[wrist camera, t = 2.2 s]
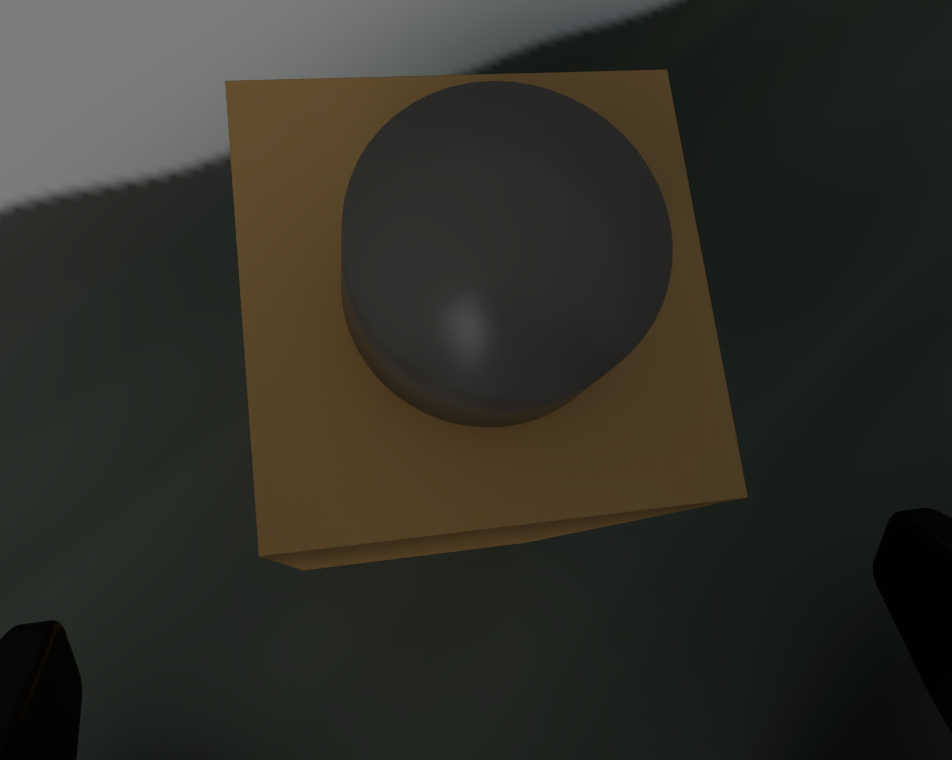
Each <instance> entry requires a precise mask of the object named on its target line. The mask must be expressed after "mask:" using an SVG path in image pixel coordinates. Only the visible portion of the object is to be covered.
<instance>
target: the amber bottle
mask: <svg viewBox="0 0 952 760" xmlns="http://www.w3.org/2000/svg"><path fill="white" fill-rule="evenodd" d="M225 84H226V98H227V113H228V127H229V140H230V155H231V169H232V183H233V197H234V211H235V225H236V239H237V253H238V267H239V281H240V295H241V309H242V323H243V337H244V351H245V365H246V379H247V393H248V407H249V421H250V435H251V449H252V463H253V477H254V491H255V505H256V519H257V533H258V547H259V556H260V557H263V558H266V559H269V560H272V561H275V562H279V563H282V564H285V565H288V566H291V567H294V568H297V569H300V570H311V569H319V568H327V567H335V566H343V565H351V564H359V563H367V562H375V561H383V560H391V559H399V558H407V557H415V556H423V555H431V554H439V553H447V552H455V551H463V550H471V549H479V548H487V547H495V546H503V545H511V544H519V543H527V542H532V541H537V540H542V539H547V538H552V537H557V536H561V535H566V534H571V533H576V532H581V531H586V530H591V529H596V528H601V527H605V526H610V525H615V524H620V523H625V522H630V521H635V520H640V519H645V518H649V517H654V516H659V515H664V514H669V513H674V512H679V511H684V510H689V509H693V508H698V507H703V506H708V505H713V504H718V503H723V502H728V501H733V500H737V499H742V498H747V497H748V496H747V491H746V485H745V480H744V475H743V470H742V464H741V459H740V454H739V448H738V443H737V438H736V432H735V427H734V422H733V417H732V411H731V406H730V401H729V395H728V390H727V385H726V379H725V374H724V369H723V364H722V358H721V353H720V348H719V342H718V337H717V332H716V326H715V321H714V316H713V311H712V305H711V300H710V295H709V289H708V284H707V279H706V273H705V268H704V263H703V258H702V252H701V247H700V242H699V236H698V231H697V226H696V220H695V215H694V210H693V205H692V199H691V194H690V189H689V183H688V178H687V173H686V167H685V162H684V157H683V152H682V146H681V141H680V136H679V130H678V125H677V120H676V114H675V109H674V104H673V99H672V93H671V88H670V83H669V77H668V72H667V70H635V71H596V72H556V73H517V74H477V75H438V76H403V77H402V76H399V77H363V78H362V77H361V78H325V79H324V78H322V79H321V78H320V79H283V80H242V81H225Z"/></svg>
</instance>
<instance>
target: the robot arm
mask: <svg viewBox="0 0 952 760" xmlns="http://www.w3.org/2000/svg"><path fill="white" fill-rule="evenodd" d="M873 575H874V579H875V582H876V585H877V587H878V589H879V591H880V593H881V595H882V598H883V600H884V602H885V604H886V606H887V608H888V610H889V612H890V614H891V616H892V618H893V620H894V622H895V624H896V627H897V629H898V631H899V633H900V635H901V637H902V639H903V641H904V643H905V645H906V647H907V649H908V651H909V653H910V655H911V658H912V660H913V662H914V664H915V666H916V668H917V670H918V672H919V674H920V676H921V678H922V680H923V682H924V684H925V686H926V688H927V690H928V692H929V694H930V696H931V698H932V700H933V702H934V703H935V705H936V707H937V709H938V710H939V712H940V714H941V716H942V717H943V719H944V721H945V722H946V724H947V726H948V727H949V729H950V731H951V732H952V518H950V517H948V516H946V515H944V514H942V513H940V512H938V511H936V510H934V509H930V508H920V509H912V510H904V511H899V512H896V513H895V514H893V515H892V516H891V517H890V519H889V521H888V524H887V526H886V529H885V532H884V534H883V537H882V540H881V542H880V545H879V548H878V550H877V553H876V556H875V558H874V562H873ZM81 703H82V683H81V676H80V673H79V670H78V667H77V664H76V661H75V658H74V655H73V652H72V649H71V646H70V643H69V641H68V638H67V635H66V632H65V630H64V627H63V626H62V625H61V624H60V622H58V621H53V620H51V621H44V622H36V623H28V624H21V625H17V626H15V627H13V628H12V629H10V630H9V631H8V632H7V633H6V634H5V635H4V636H3V637H2V638H1V639H0V760H76V758H77V747H78V736H79V725H80V714H81Z"/></svg>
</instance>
